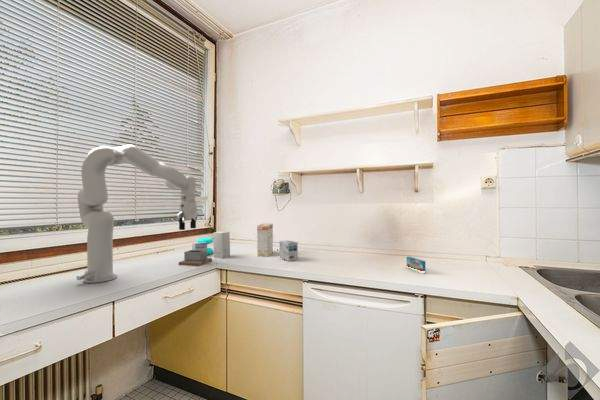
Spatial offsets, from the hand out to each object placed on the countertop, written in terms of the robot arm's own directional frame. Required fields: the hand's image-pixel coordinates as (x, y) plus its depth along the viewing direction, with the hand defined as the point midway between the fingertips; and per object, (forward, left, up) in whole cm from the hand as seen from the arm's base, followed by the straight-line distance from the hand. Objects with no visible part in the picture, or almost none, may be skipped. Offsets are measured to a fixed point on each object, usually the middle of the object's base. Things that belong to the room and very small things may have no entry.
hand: (187, 228), depth 165 cm
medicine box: (+18, +4, -20) cm, 27 cm away
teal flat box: (+14, -122, -20) cm, 124 cm away
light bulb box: (+24, -52, -20) cm, 60 cm away
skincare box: (+20, -10, -19) cm, 29 cm away
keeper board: (+2, -4, -19) cm, 20 cm away
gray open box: (+2, -4, -18) cm, 18 cm away
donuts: (+27, +6, -20) cm, 34 cm away
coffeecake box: (+35, -33, -20) cm, 52 cm away
